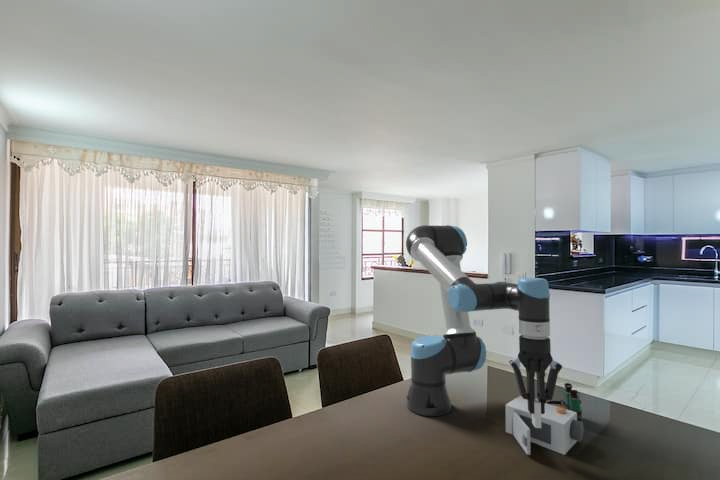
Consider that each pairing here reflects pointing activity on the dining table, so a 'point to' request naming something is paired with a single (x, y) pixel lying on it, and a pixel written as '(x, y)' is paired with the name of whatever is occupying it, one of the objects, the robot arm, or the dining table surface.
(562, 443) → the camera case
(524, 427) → the side door
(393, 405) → the dining table surface
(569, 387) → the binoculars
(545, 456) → the dining table surface
